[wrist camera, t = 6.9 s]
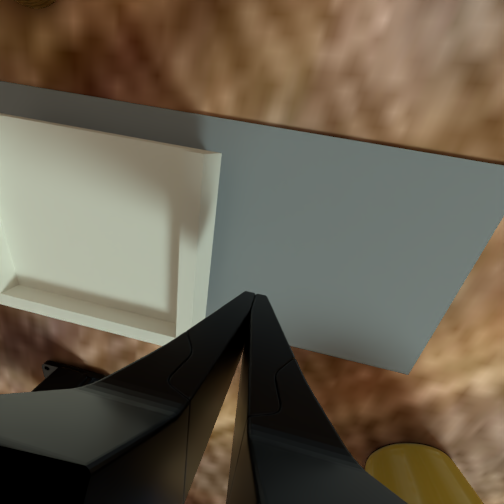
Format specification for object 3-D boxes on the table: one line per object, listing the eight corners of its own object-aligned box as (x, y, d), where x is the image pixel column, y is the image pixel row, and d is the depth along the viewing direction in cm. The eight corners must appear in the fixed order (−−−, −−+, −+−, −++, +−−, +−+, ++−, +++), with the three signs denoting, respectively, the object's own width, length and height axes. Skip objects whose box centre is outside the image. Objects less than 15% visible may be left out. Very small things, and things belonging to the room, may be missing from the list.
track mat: (407, 372, 16) (408, 374, 16) (18, 277, 19) (16, 278, 19) (528, 169, 11) (531, 170, 11) (-37, 75, 13) (-40, 74, 13)
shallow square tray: (211, 309, 17) (189, 352, 13) (52, 271, 18) (-9, 301, 14) (229, 152, 12) (203, 154, 9) (20, 115, 14) (-76, 103, 10)
